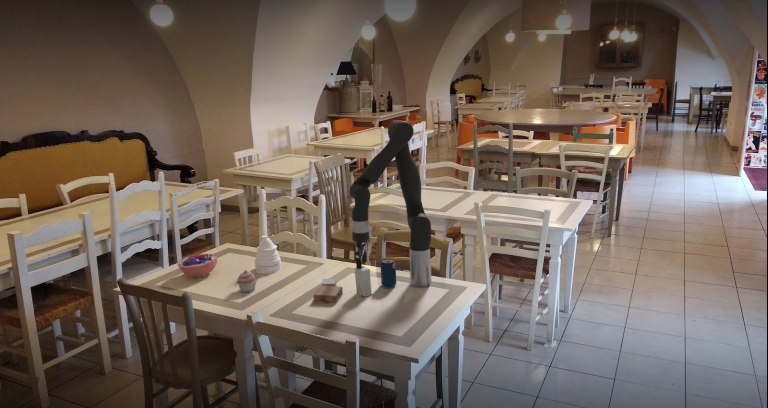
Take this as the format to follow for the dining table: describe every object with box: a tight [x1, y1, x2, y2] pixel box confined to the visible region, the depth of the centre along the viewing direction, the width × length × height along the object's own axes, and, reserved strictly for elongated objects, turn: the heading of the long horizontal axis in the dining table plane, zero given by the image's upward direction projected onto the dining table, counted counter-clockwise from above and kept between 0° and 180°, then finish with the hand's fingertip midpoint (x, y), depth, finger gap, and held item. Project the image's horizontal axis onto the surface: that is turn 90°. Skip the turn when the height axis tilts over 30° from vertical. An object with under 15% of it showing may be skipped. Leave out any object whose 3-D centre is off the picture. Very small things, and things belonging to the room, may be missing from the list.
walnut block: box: [313, 285, 343, 305], centre depth 243 cm, size 10×10×4 cm
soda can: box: [380, 258, 397, 289], centre depth 254 cm, size 7×7×12 cm
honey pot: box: [254, 235, 282, 275], centre depth 279 cm, size 13×13×18 cm
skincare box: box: [354, 265, 372, 298], centre depth 246 cm, size 6×4×12 cm
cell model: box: [176, 253, 218, 279], centre depth 275 cm, size 17×20×11 cm
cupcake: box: [236, 269, 258, 294], centre depth 254 cm, size 9×9×10 cm
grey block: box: [321, 278, 338, 286], centre depth 253 cm, size 6×6×4 cm
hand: (361, 265), depth 244 cm, fingers open, 8 cm apart
